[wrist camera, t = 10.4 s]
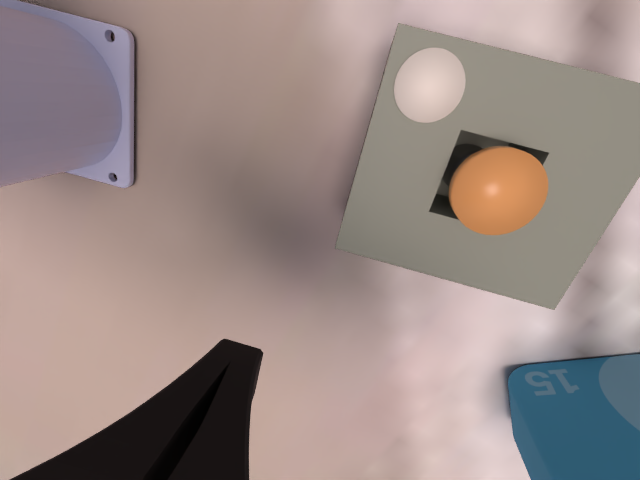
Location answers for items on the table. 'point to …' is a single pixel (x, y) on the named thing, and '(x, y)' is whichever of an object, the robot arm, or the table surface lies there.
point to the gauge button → (495, 187)
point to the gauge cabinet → (484, 131)
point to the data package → (578, 418)
